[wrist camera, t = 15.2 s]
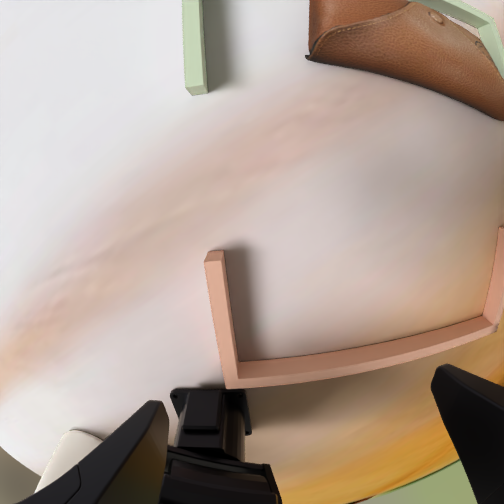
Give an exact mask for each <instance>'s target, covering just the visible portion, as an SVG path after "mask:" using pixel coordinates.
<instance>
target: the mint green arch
mask: <svg viewBox="0 0 504 504" xmlns="http://www.w3.org/2000/svg"><path fill="white" fill-rule="evenodd" d="M408 1H410V2H411V1H412V2H418V3H421V4H423V5H425V6H427V7H430V8H431V9H434V10H436V11H439V12H441V13H444V14H446V15H449V16H451V17H454V18H456V19H458V20H461V21H463V22H465V23H467V24H469V25H471V26H474V27H476V28H477V29H478V31H479V35H480V38H481V41H482V43H483V44H484V46H485V48H486V49H487V51H488V52H489V54H490V56H491V58H492V59H493V61H494V63H495V65H496V66H497V68H498V70H499V72H500V74H501V76H502V78H503V79H504V48H503V45H502V42H501V39H500V36H499V33H498V30H497V27H496V24H495V22H494V19H493V18H492V17H490V16H488V15H487V14H485V13H483V12H481V11H480V10H478V9H476V8H474V7H472V6H470V5H468V4H466V3H464V2H462V1H460V0H408ZM182 24H183V54H184V74H185V88H186V89H187V90H188V91H189V93H190V94H191V95H199V94H206V93H208V87H207V73H206V59H205V43H204V26H203V6H202V0H182Z"/></svg>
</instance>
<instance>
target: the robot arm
mask: <svg viewBox="0 0 504 504" xmlns="http://www.w3.org/2000/svg"><path fill="white" fill-rule="evenodd" d="M431 391H432V393H433V396H434V399H435V401H436V404H437V407H438V409H439V412H440V415H441V418H442V420H443V423H444V425H445V427H446V429H447V431H448V434H449V436H450V438H451V440H452V442H453V444H454V447H455V449H456V451H457V453H458V456H459V458H460V460H461V462H462V465H463V467H464V469H465V472H466V474H467V477H468V479H469V482H470V484H471V487H472V490H473V492H474V495H475V498H476V500H477V503H478V504H504V387H503V386H500V385H498V384H495V383H493V382H490V381H488V380H486V379H483V378H481V377H479V376H476V375H474V374H471V373H469V372H467V371H464V370H462V369H460V368H457V367H455V366H453V365H450V364H444V365H441V366H438V367H437V369H436V371H435V374H434V377H433V380H432V382H431ZM240 394H241V395H240ZM170 398H171V400H172V403H173V405H174V408H175V411H176V413H177V415H178V418H179V422H178V427H177V431H176V436H175V440H174V445H173V446H170V445H167V444H168V433H169V417H168V415H167V412H166V409H165V407H164V404H163V402H162V401H157V400H149V401H147V402H146V403H145V404H144V405H143V406H142V407H141V408H140V409H139V410H137V411H136V412H135V413H134V414H133V415H132V416H131V417H130V418H129V419H128V420H126V421H125V422H124V423H123V424H122V425H121V426H120V427H119V428H117V429H116V430H115V431H114V432H113V433H112V434H111V435H109V436H108V437H107V438H106V439H105V440H104V441H103V442H101V443H100V444H99V445H98V446H97V447H96V448H95V449H93V450H92V451H91V452H90V453H89V454H88V455H86V456H85V457H84V458H83V459H82V460H80V461H79V462H78V464H76V465H74V466H73V467H72V468H71V469H70V470H68V471H67V472H66V473H64V474H63V475H62V476H61V477H59V478H58V479H56V480H55V481H53V482H52V483H50V484H49V485H47V486H46V487H44V488H43V489H41V490H39V491H38V492H36V493H34V494H32V495H31V496H29V497H27V498H26V499H24V500H22V501H20V502H18V503H15V504H282V499H281V496H280V493H279V490H278V487H277V484H276V482H275V479H274V476H273V473H272V470H271V467H270V464H255V463H248V462H245V436H247V435H251V434H252V427H251V421H250V415H249V408H248V402H247V395H246V391H245V390H244V389H214V390H172V391H171V393H170Z"/></svg>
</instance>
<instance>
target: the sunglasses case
mask: <svg viewBox="0 0 504 504" xmlns="http://www.w3.org/2000/svg"><path fill="white" fill-rule="evenodd" d="M309 3H310V5H309V6H310V7H309V41H308V45H309V52H310V55H305V57H306V59H307V60H310V61H314V62H319V63H324V64H330V65H336V66H342V67H347V68H353V69H359V70H365V71H369V72H373V73H377V74H381V75H384V76H388V77H392V78H396V79H399V80H403V81H407V82H409V83H413V84H416V85H419V86H422V87H424V88H427V89H430V90H433V91H436V92H439V93H441V94H444V95H446V96H449V97H451V98H453V99H456V100H458V101H461V102H463V103H465V104H467V105H469V106H471V107H473V108H476V109H478V110H480V111H481V112H483V113H485V114H487V115H489V116H491V117H493V118H495V119H497V120H500V121H504V79H503V78H502V76H501V74H500V72H499V70H498V68H497V66H496V65H495V63H494V61H493V59H492V58H491V56H490V54H489V52H488V51H487V49H486V48H485V46H484V44H483V43H482V41H481V40H480V39H479V38H478V37H476V36H475V35H473V34H472V33H470V32H469V31H468V30H466V29H464V28H463V27H461V26H460V25H458V24H456V23H454V22H452V21H451V20H449V19H448V18H447V17H445V16H444V15H442V14H441V13H439V12H437V11H436V10H434V9H431V8H430V7H427V6H425V5H423V4H421V3H418V2H412V1H411V2H410V1H408V0H310V2H309Z"/></svg>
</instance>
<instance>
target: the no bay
mask: <svg viewBox="0 0 504 504" xmlns="http://www.w3.org/2000/svg"><path fill="white" fill-rule="evenodd" d="M204 267H205V274H206V280H207V286H208V293H209V299H210V305H211V311H212V317H213V323H214V328H215V334H216V339H217V345H218V350H219V355H220V361H221V366H222V371H223V376H224V381H225V386H226V389H240V388H255V387H267V386H278V385H287V384H296V383H303V382H311V381H318V380H324V379H330V378H336V377H342V376H347V375H353V374H358V373H362V372H367V371H372V370H376V369H381V368H385V367H389V366H393V365H397V364H401V363H405V362H409V361H412V360H416V359H419V358H423V357H426V356H430V355H433V354H436V353H439V352H442V351H445V350H448V349H451V348H454V347H457V346H460V345H463V344H466V343H468V342H471V341H474V340H476V339H479V338H481V337H484V336H486V335H489V334H491V333H494V332H496V331H497V328H498V325H499V322H500V319H501V315H502V312H503V309H504V227H499V231H498V239H497V247H496V254H495V260H494V266H493V272H492V277H491V282H490V286H489V291H488V295H487V299H486V303H485V307H484V311H483V315H482V316H480V317H477V318H474V319H471V320H468V321H464V322H461V323H458V324H455V325H451V326H448V327H444V328H441V329H437V330H434V331H430V332H426V333H422V334H418V335H414V336H410V337H406V338H402V339H397V340H393V341H388V342H383V343H379V344H374V345H369V346H363V347H358V348H352V349H347V350H341V351H335V352H328V353H321V354H314V355H307V356H299V357H290V358H281V359H271V360H260V361H247V362H239V361H238V354H237V347H236V341H235V334H234V327H233V319H232V312H231V305H230V297H229V290H228V282H227V274H226V266H225V258H224V250H222V251H211V252H208V253H207V256H206V258H205V260H204Z"/></svg>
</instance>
